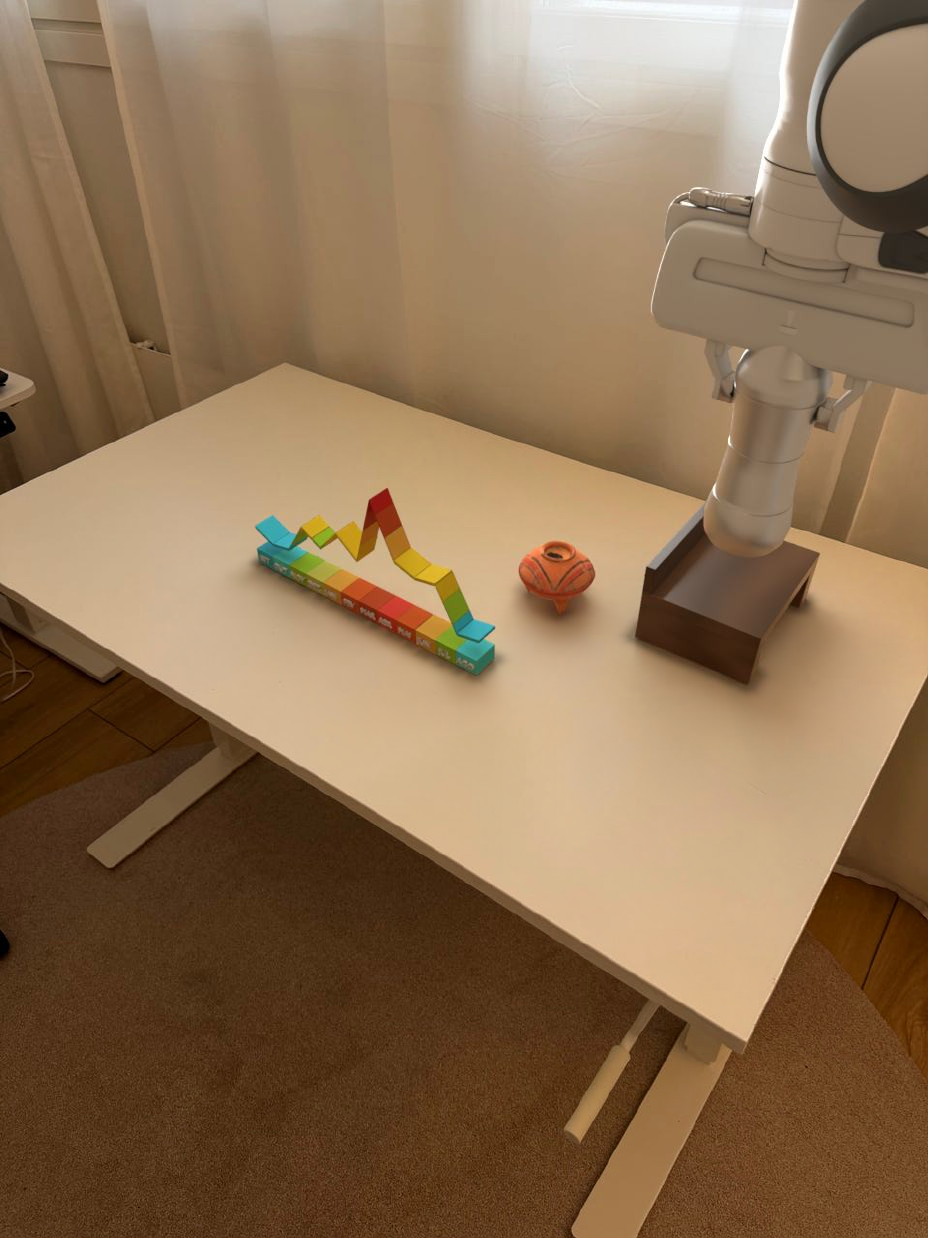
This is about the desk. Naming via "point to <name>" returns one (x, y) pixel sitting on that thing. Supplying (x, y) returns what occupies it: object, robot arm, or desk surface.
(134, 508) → the desk surface
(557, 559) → the pot
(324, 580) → the chart
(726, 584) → the shelf
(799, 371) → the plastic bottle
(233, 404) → the desk surface
